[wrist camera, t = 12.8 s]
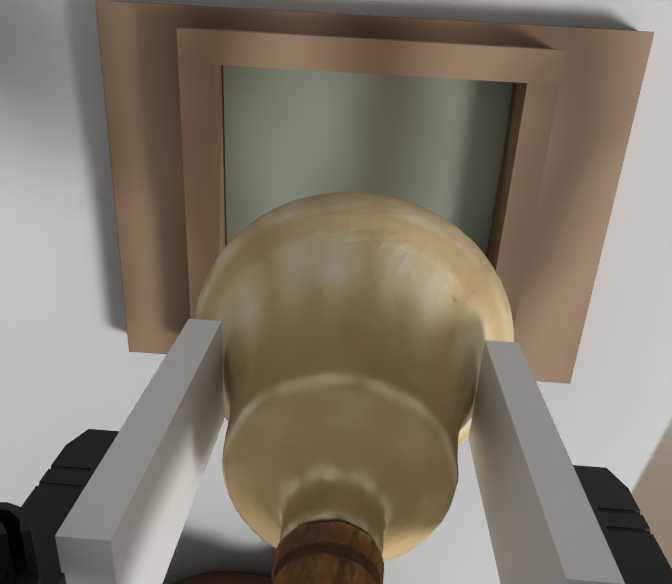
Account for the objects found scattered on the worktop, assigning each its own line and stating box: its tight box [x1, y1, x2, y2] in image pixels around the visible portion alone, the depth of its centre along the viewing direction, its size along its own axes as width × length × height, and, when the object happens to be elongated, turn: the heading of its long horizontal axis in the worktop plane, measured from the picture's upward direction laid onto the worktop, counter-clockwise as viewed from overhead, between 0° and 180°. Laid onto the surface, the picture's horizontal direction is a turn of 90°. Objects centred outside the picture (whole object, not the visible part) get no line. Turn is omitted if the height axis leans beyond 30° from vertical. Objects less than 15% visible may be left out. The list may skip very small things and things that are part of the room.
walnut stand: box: [95, 0, 654, 384], centre depth 27 cm, size 22×16×4 cm
